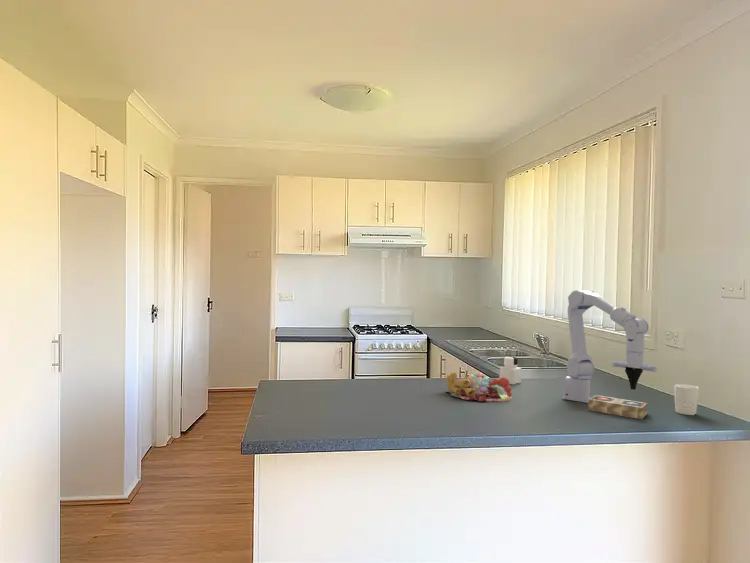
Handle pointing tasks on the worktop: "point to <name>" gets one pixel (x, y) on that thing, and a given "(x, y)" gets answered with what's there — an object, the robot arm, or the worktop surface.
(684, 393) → the white cup
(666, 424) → the worktop surface
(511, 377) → the medicine bottle
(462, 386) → the assorted food platter
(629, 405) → the peg block
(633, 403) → the blue peg
